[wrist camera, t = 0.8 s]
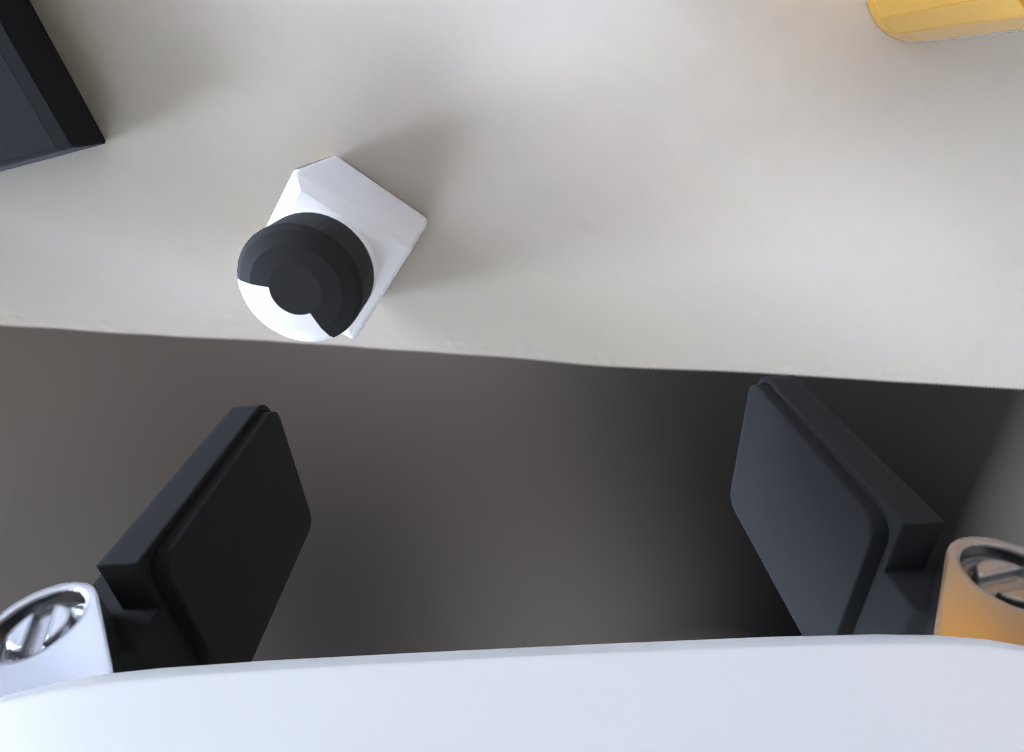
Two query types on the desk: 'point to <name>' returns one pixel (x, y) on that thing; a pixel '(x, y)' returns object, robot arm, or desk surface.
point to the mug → (946, 18)
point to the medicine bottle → (326, 252)
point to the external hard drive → (37, 94)
